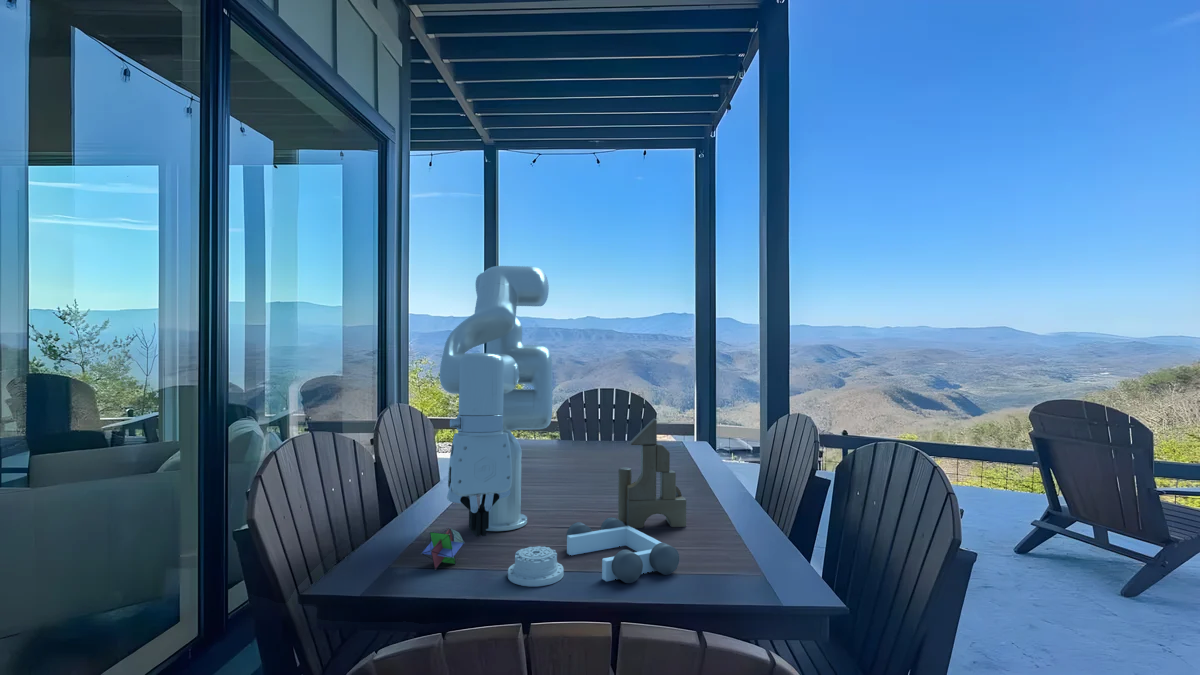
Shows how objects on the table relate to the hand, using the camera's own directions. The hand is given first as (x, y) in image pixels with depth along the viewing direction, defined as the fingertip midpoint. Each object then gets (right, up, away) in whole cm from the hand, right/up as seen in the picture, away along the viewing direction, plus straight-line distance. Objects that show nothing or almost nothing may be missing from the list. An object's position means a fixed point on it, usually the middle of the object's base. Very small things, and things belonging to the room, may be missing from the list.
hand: (478, 534), depth 93 cm
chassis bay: (+24, -10, +13) cm, 29 cm away
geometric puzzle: (-9, -10, +10) cm, 17 cm away
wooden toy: (+33, -11, +38) cm, 51 cm away
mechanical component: (+9, -10, +6) cm, 15 cm away
